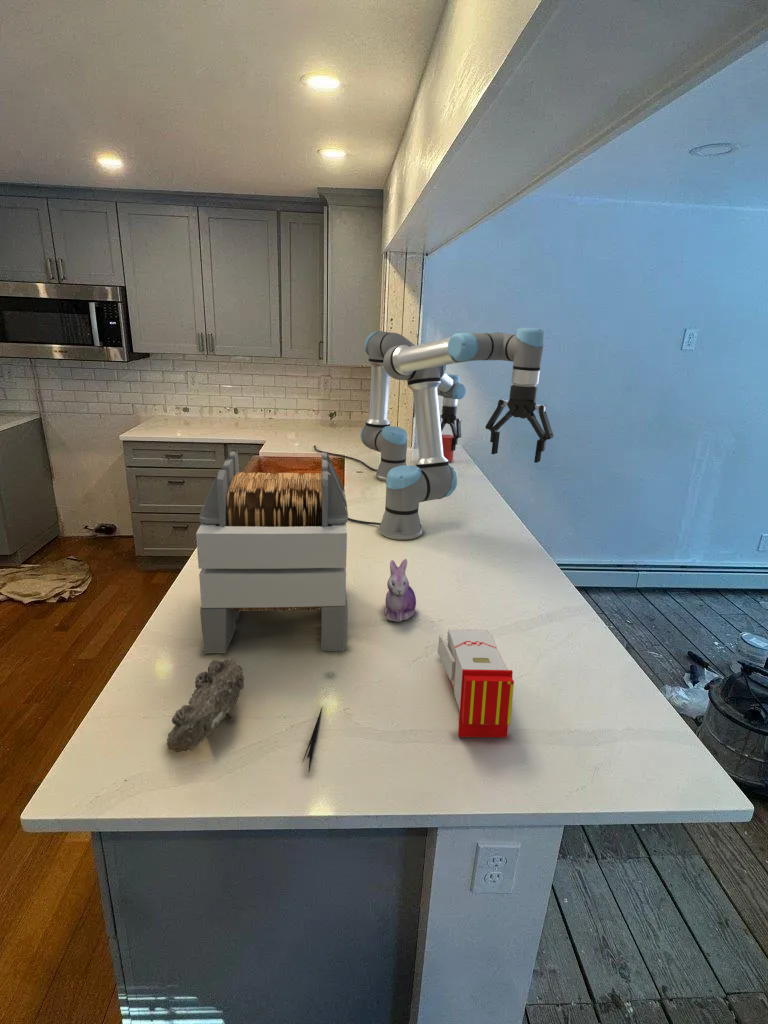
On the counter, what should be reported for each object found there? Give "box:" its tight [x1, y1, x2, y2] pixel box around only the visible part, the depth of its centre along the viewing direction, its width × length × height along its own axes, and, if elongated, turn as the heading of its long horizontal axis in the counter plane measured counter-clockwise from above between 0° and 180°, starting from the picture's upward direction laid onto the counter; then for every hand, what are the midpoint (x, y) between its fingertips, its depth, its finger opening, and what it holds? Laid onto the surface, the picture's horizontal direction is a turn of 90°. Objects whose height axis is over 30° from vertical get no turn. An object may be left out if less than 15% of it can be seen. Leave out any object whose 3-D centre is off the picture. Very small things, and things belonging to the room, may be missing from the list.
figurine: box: [384, 558, 417, 623], centre depth 145 cm, size 9×10×15 cm
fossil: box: [166, 658, 245, 754], centre depth 106 cm, size 22×10×15 cm
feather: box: [301, 673, 332, 771], centre depth 108 cm, size 2×28×2 cm
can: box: [441, 434, 455, 462], centre depth 297 cm, size 8×8×12 cm
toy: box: [437, 628, 515, 738], centre depth 117 cm, size 12×13×30 cm
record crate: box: [195, 450, 349, 655], centre depth 137 cm, size 34×33×41 cm
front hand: (515, 457), depth 168 cm, fingers open, 13 cm apart
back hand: (445, 448), depth 297 cm, fingers closed on can, 8 cm apart
